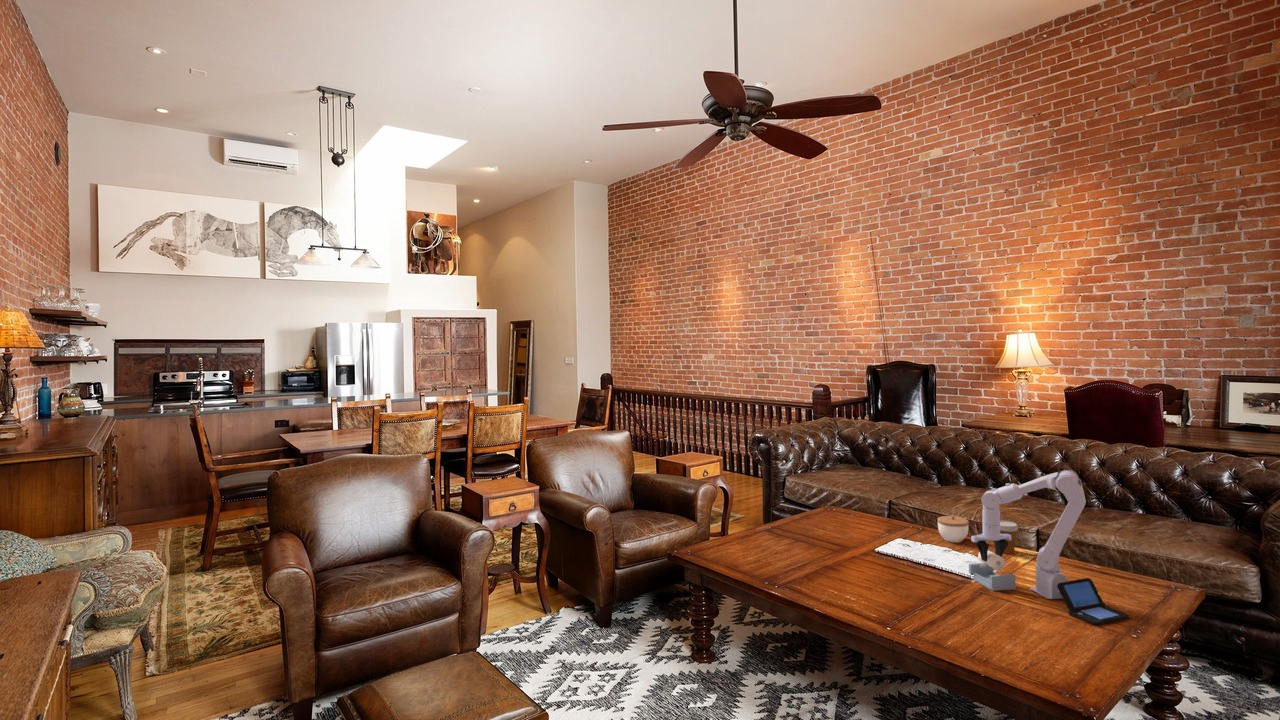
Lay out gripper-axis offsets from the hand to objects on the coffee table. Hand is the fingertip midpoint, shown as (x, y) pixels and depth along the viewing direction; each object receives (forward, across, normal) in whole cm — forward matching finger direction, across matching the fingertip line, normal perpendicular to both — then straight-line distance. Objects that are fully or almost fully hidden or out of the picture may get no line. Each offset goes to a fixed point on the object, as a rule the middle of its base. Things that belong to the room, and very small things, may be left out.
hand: (991, 560), depth 237 cm
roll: (+2, 0, 0) cm, 2 cm away
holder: (+8, 0, 0) cm, 8 cm away
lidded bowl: (+9, -15, -48) cm, 51 cm away
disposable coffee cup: (+9, -27, -30) cm, 41 cm away
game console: (+9, -15, +30) cm, 34 cm away
